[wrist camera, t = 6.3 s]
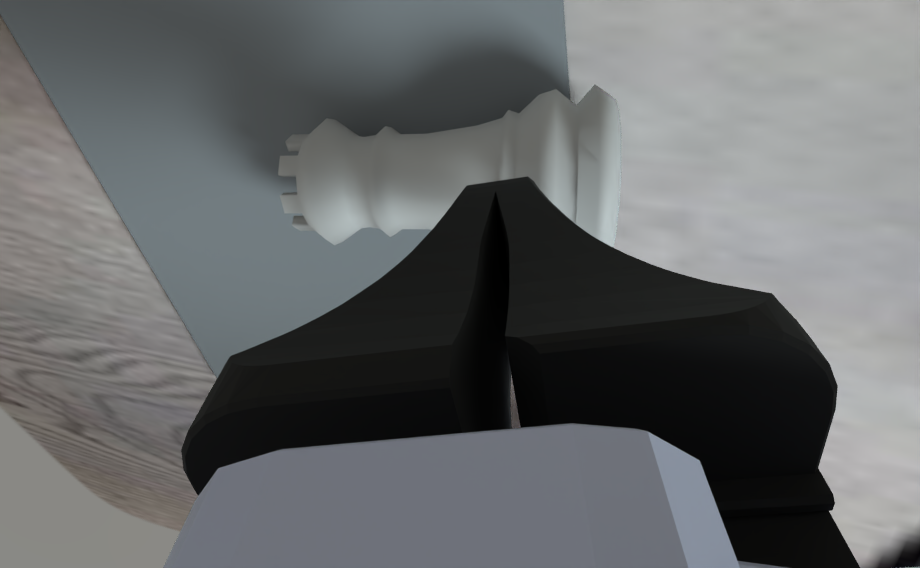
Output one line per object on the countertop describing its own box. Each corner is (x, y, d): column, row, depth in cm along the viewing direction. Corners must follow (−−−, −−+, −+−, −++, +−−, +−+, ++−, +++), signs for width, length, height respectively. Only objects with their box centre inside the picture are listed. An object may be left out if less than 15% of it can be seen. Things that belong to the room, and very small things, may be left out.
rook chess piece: (621, 272, 11) (257, 266, 13) (598, 271, 16) (330, 267, 17) (625, 52, 11) (258, 67, 12) (602, 113, 16) (332, 120, 17)
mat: (584, 337, 20) (586, 343, 20) (222, 377, 22) (219, 382, 22) (543, -278, 11) (544, -283, 11) (-70, -121, 13) (-80, -120, 13)
